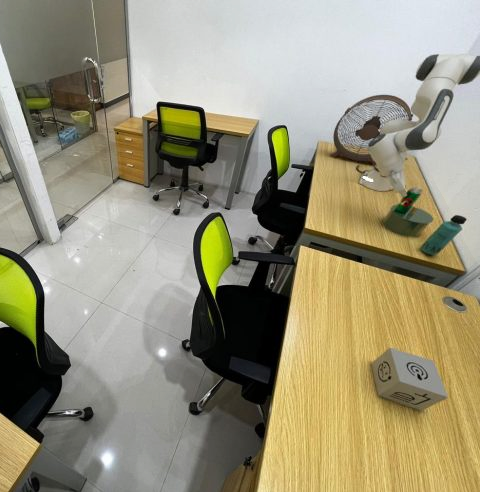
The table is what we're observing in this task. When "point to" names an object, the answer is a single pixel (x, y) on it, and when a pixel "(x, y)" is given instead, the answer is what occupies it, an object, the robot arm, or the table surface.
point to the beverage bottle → (443, 235)
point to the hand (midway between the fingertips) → (404, 191)
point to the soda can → (408, 200)
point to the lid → (414, 215)
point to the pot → (402, 225)
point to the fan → (366, 125)
